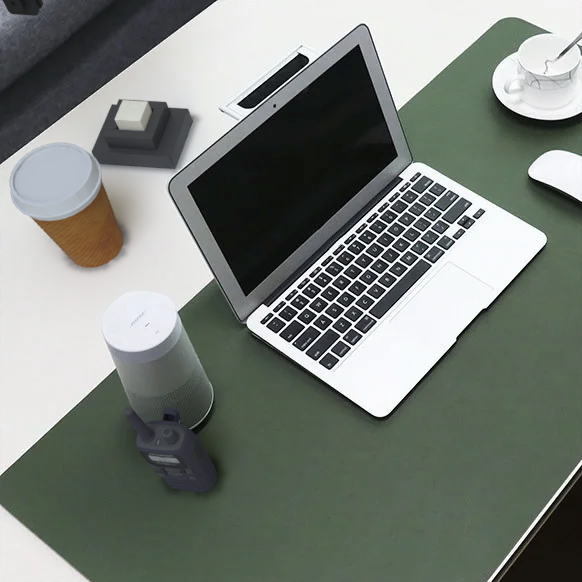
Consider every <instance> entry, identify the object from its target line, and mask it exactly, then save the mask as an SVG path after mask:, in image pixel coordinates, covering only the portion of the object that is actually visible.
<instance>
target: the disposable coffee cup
mask: <svg viewBox="0 0 582 582" xmlns="http://www.w3.org/2000/svg"><path fill="white" fill-rule="evenodd" d="M8 183H9V191H10V199H11V201H12V203H13V205H14V206H15V208H16V209H17V210H18V211H20V213H22V214H23V215H26V216H28V217H30V218H31V219H32V220H33V222H35V224H36V225H38V227H39V228H40V229H41V230H42V231H43V232H44V233H45V234H46V235H47V236H48V237H49V238H50V239H51V240H52V241H53V242H54V243H55V245H56V246H58V247H59V248H60V249H61V251H62V252H63V253H64V254H65V255H66V256H67V257H68V258H69V259H70V260H71V261H72V262H73V263H74V264H75V265H77V266H79V267H81V268H87V269H93V268H98V267H102V266H104V265H107V264H109V263H110V262H111V261H113V260H114V259H115V258H116V257H117V256H118V255H119V254H120V252H121V250H122V248H123V245H124V238H123V237H124V236H123V234H122V232H121V228H120V226H119V223H118V220H117V218H116V215H115V212H114V210H113V209H114V208H113V207H112V204H111V201H110V199H109V196H108V193H107V191H106V187H105V185H104V182H103V173H102V168H101V164H99V163H98V161H97V159H96V158H95V157H94V156H93V154H92V153H91V152H89V151H87V150H86V149H84V148H83V147H82V146H80V145H78V144H74V143H72V142H64V141H59V142H57V141H56V142H50V143H47V144H46V143H45V144H42V145H40V146H38V147H36V148H33V149H32V150H30V151H29V152H27V153H25V154H24V155H23V156H22V157H21V158H19V160H18V161H17V162H16V163H15V165H14V166H13V167H12V170H11V173H10V174H9V179H8Z"/></svg>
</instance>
